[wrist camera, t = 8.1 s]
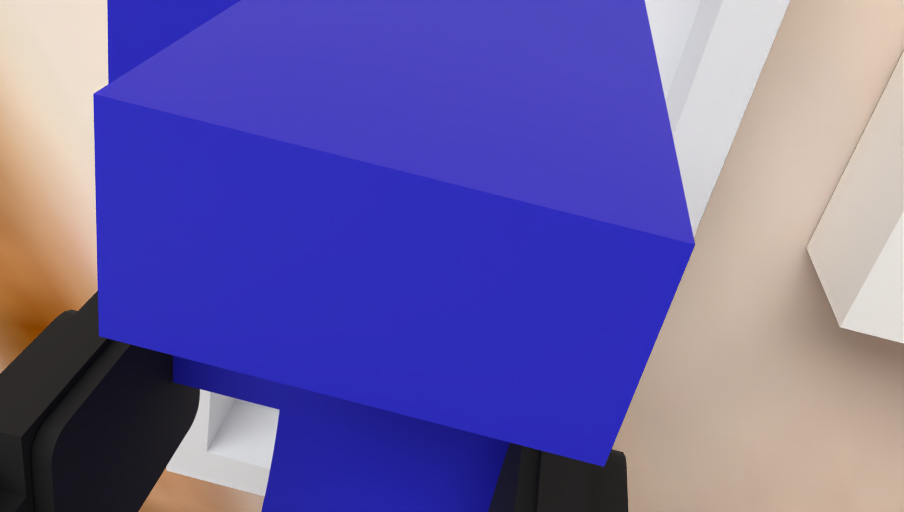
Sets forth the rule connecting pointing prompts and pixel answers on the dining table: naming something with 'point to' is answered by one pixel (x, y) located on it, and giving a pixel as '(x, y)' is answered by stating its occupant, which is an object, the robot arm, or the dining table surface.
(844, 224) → the power strip
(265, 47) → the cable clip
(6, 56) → the dining table surface
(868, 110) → the dining table surface
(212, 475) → the cable tray
